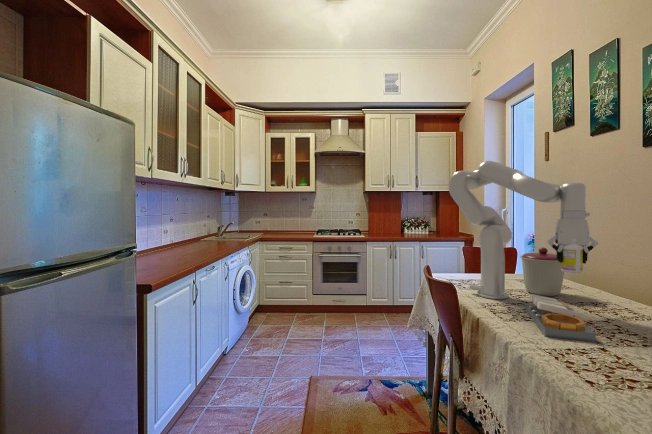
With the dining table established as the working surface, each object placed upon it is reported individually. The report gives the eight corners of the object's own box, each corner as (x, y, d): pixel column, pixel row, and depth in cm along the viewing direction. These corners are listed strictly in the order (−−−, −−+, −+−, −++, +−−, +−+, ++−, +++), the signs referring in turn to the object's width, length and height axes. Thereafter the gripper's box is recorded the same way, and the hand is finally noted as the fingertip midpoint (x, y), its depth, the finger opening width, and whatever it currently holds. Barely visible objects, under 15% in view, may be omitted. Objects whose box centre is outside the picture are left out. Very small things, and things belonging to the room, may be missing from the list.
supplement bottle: (574, 270, 128) (575, 237, 128) (586, 273, 121) (587, 239, 121) (556, 269, 129) (557, 237, 128) (567, 273, 122) (568, 238, 122)
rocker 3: (538, 308, 112) (540, 302, 112) (536, 306, 115) (537, 300, 115) (573, 316, 109) (574, 310, 108) (570, 313, 111) (571, 307, 111)
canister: (573, 300, 139) (574, 250, 138) (524, 296, 145) (524, 249, 144) (559, 290, 156) (560, 246, 155) (516, 287, 162) (516, 244, 161)
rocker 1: (531, 301, 121) (532, 295, 121) (529, 298, 124) (530, 293, 124) (563, 307, 118) (564, 302, 118) (560, 305, 121) (561, 299, 121)
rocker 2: (535, 304, 117) (536, 298, 116) (533, 302, 119) (534, 296, 119) (568, 312, 113) (569, 306, 113) (565, 309, 116) (566, 303, 116)
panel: (545, 336, 100) (545, 323, 100) (526, 311, 125) (526, 300, 125) (595, 342, 96) (595, 328, 96) (565, 314, 120) (565, 303, 120)
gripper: (595, 215, 125) (594, 262, 126) (542, 215, 131) (542, 259, 131) (605, 216, 118) (604, 265, 118) (548, 215, 124) (548, 262, 124)
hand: (571, 262), depth 125 cm, fingers closed on supplement bottle, 6 cm apart
